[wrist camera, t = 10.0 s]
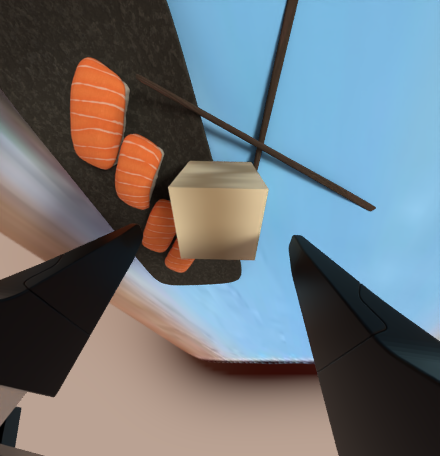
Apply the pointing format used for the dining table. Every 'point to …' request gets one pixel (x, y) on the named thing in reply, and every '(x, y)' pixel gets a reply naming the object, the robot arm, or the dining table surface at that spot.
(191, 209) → the birch block
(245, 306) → the dining table surface
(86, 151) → the sushi plate
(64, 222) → the dining table surface
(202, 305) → the dining table surface
